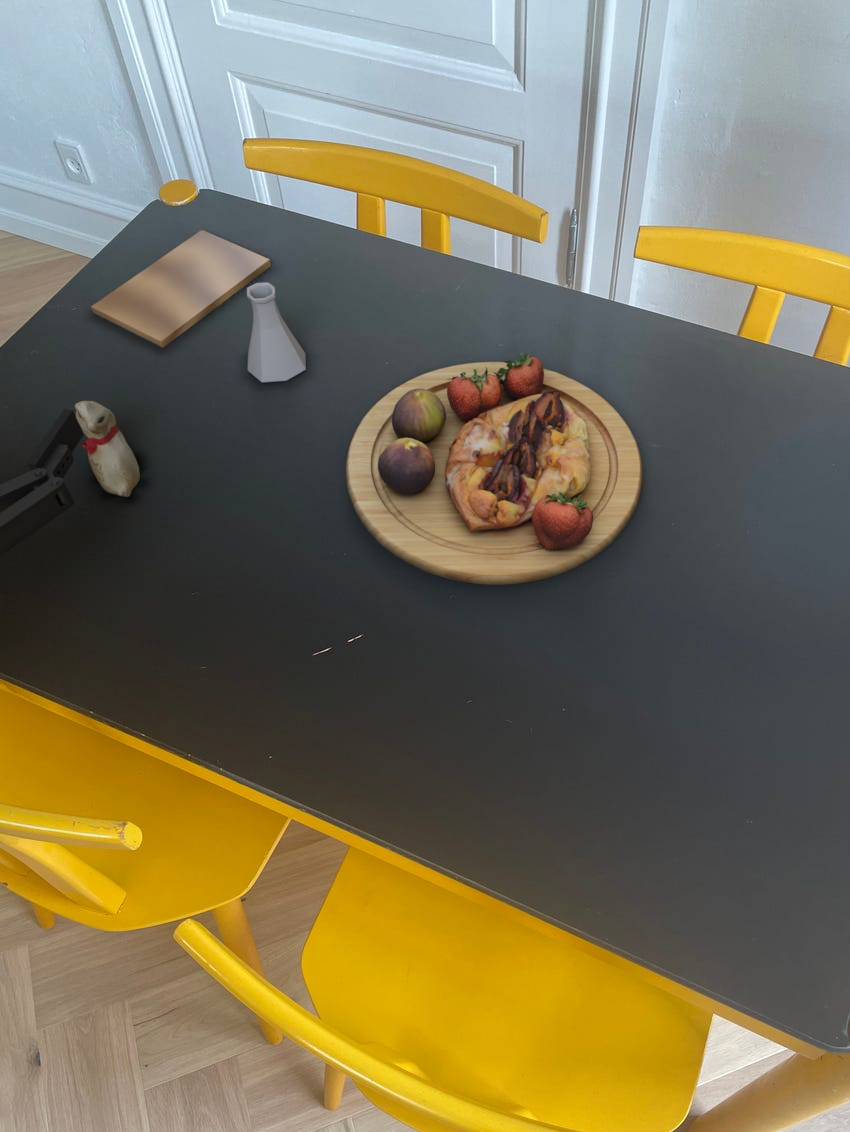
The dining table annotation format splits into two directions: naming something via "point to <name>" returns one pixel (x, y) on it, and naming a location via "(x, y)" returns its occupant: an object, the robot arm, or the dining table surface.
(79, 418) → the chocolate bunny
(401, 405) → the wooden plate
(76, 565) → the dining table surface
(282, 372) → the flask
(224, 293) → the wooden board
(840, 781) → the dining table surface
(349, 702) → the dining table surface
